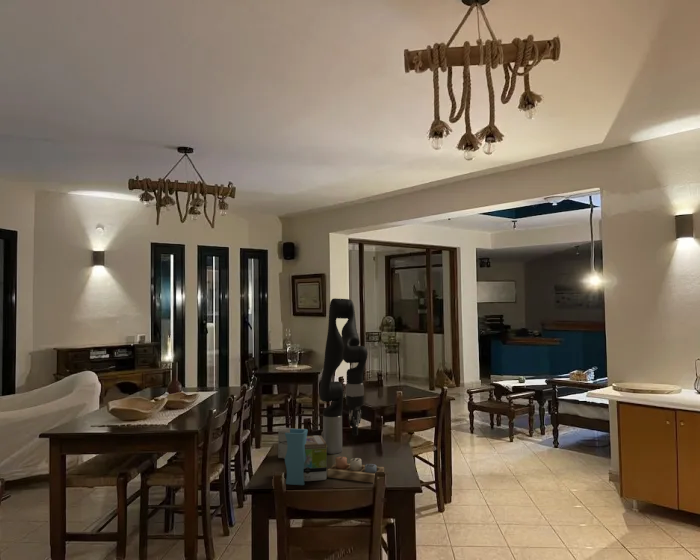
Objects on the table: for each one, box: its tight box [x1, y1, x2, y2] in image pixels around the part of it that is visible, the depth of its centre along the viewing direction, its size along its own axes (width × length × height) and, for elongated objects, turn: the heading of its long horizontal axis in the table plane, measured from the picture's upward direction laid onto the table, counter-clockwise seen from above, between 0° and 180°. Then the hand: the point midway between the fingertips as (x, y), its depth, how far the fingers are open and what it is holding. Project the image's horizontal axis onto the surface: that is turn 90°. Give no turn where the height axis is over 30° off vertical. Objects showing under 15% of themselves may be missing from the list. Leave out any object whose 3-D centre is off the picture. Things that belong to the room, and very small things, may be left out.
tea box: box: [303, 434, 328, 482], centre depth 222 cm, size 15×10×15 cm
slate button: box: [364, 463, 377, 473], centre depth 218 cm, size 5×5×4 cm
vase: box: [284, 428, 309, 486], centre depth 215 cm, size 8×8×20 cm
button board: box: [326, 462, 385, 484], centre depth 221 cm, size 21×11×3 cm, turn 69°
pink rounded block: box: [334, 456, 348, 470], centre depth 223 cm, size 5×5×4 cm
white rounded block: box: [349, 457, 363, 471], centre depth 221 cm, size 5×5×4 cm
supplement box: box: [277, 427, 295, 459], centre depth 249 cm, size 7×7×13 cm
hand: (354, 435), depth 222 cm, fingers closed
